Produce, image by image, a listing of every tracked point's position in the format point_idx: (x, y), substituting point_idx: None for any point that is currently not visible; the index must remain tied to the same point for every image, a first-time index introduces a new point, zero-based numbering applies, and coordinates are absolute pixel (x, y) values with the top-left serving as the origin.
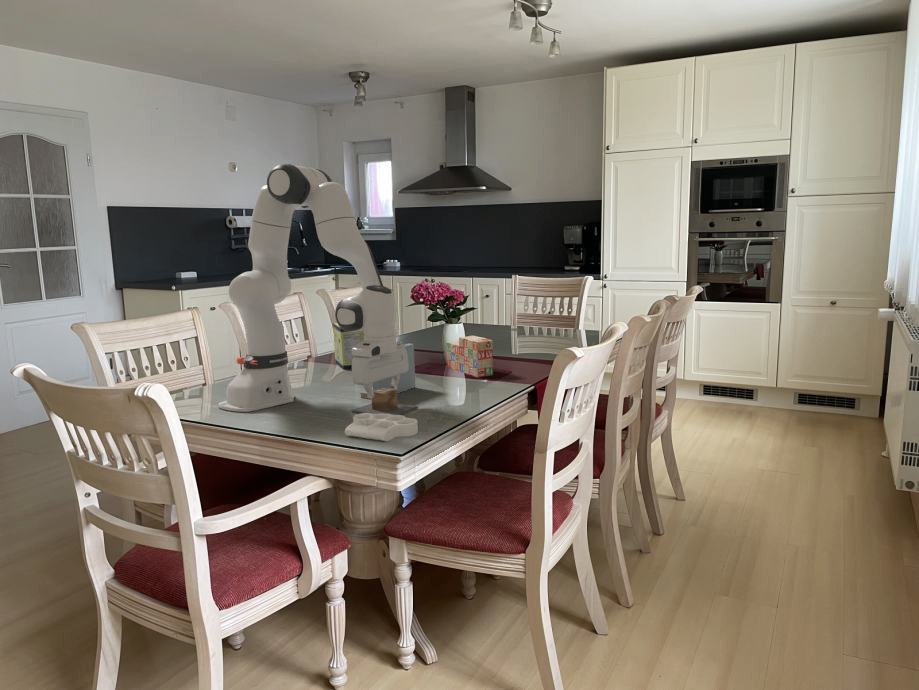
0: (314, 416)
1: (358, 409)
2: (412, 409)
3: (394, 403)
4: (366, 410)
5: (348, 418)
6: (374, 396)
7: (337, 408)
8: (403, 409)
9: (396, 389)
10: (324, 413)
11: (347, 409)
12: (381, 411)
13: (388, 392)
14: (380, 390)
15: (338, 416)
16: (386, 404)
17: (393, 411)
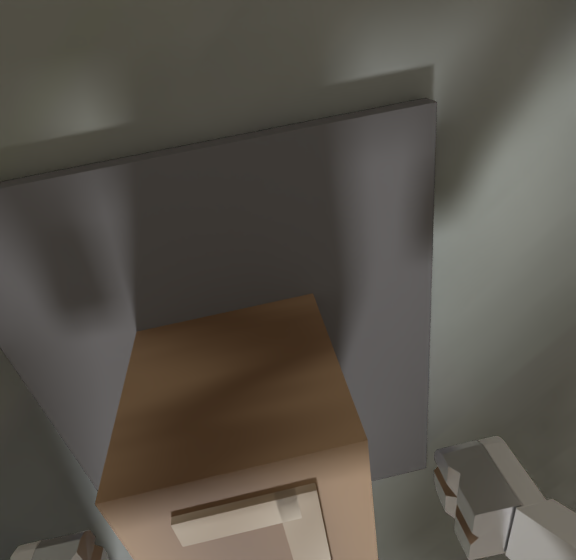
0: (567, 497)
1: (388, 458)
2: (29, 179)
3: (179, 354)
4: (380, 412)
5: (544, 370)
6: (466, 454)
7: (392, 542)
8: (142, 225)
9: (32, 552)
10: None
11: (379, 508)
12: (338, 320)
13: (289, 461)
14: (298, 557)
15: (525, 435)
16: (317, 338)
17: (268, 244)
